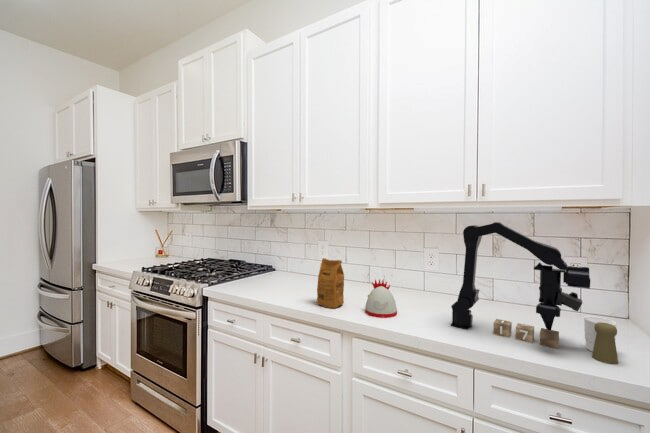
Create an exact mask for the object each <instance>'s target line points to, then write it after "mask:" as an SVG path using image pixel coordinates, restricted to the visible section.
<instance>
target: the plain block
mask: <svg viewBox="0 0 650 433" xmlns="http://www.w3.org/2000/svg"><path fill="white" fill-rule="evenodd" d="M559 341H560V331H558V330H553V329H551V330H547V328H544V327H541V328H540V330H539V346H543V347H547V348H551V349H556V350H559V345H560V342H559Z"/></svg>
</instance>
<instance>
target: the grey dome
mask: <svg viewBox="0 0 650 433" xmlns="http://www.w3.org/2000/svg"><path fill="white" fill-rule="evenodd" d="M387 284H388V282H387V281H386V282H385V281H384V279H382V281H381V279H380V278H379V280H378V282H377V279H376V278H375V279H374V282H373V281H371V285H372V286H373V289H372V290H371V292H370V293H369V294H368V295H367V299H366V302H365V309H364V313H365V315H367V316H370V317H373V318H377V319H379V318H380V319H387V318H388V319H389V318H394V317H396V316H397V314H398V309H397V303H396V300H395V297H394V295H393V293H392V292H391V290H390V287H391V284H389V285H388V286H387Z"/></svg>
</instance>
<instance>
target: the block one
mask: <svg viewBox="0 0 650 433" xmlns="http://www.w3.org/2000/svg"><path fill="white" fill-rule="evenodd" d="M512 322H513V321H511V320H503V319H499V318H495V320H494V321H493V335H495V336H499V337H505V338H508V339H509V338H510V337H511V336H512V328H513V327H512V324H513V323H512Z"/></svg>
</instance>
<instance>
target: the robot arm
mask: <svg viewBox="0 0 650 433" xmlns="http://www.w3.org/2000/svg"><path fill="white" fill-rule="evenodd" d="M462 231H463V232H462V234H463V236H462V237H463V242H464V246H465V253H464V254H465V255H464V267H463V278H462V284H461V288H460V290H459V293H458V296H457V300H456V301H455V302H454V303H453V304H452V305H451V310H452V312H451V314H452V316H451V319H452V320H451V323H450V326H452V327H456V328H459V329H460V328H461V329H464V330H465V329H466V330H469V329H470V328H471V327H472V326H473V319H474V318H473V317H474V315H473V314H472V310H471V308H473V307H474V306H475V304H476V303H477V302H478V301H479V300H480V297H479V293H480V289H478V288H477V289H476V269H477V259H478V249H479V246H480V244H481V242H482V238H483V236H486V235H491V234H497V235H499V236H501V237H502V238H505V239H507V240H509V241H510V242H512V243H514V244H516V245H517V246H519V247H521V248H523V249H525V250H526V251H529V252H530V253H531V254H532V255H533V256H535V257H536V259H538V260H540V261H541V262H538V263H537V264H536V265H534V266H533V270H535V271H539V287H538V290H539V298H538V303H537V304H536V307H535V313H536V314H539V315H540V317H541V319H542V321H543V324H544V326H545V329H547V330H552V328H553V324H554V321H555V317H557V318H560V317H561V311H562V308H560V307H561V306H562V305H563V306H566V307H567V308H570V309H572V310H573V311H575V312H579V310H580V308H581V307H582V305H583V300H582V299H581V298H579V297H578V293H576V292H573V291H572V292H570V293H567V292H563V288H562V287H561V285H562V284H561V283H562V281H563V283H564V284H565V285H567V287H573V288H579V289H580V288H581V289H587V290H588V289H591V278H590V268H589V267H587V266H574V265H573V266H572V265H571V266H570V265H568V264H567V262H565V260H564V259H563V258H562V254H561V253H562V252H561V251H560V249H558V248H557V247H554V246H552V245H549V244H547V243H543V242H539V241H536V240H534V239H531V238H529V237H527V236H526V235H524V234H522V233H520V232H518V231H516V230H514V229H512V228H510V227H509V226H507V225H505V224H503V223H502V222H500V221H496V222H495V221H494V222H493V223H490V224H489V223H488V224H484V225H480V226H479V225H476V224H475V225H469V226H465V227H464V229H463V230H462ZM542 263H543V264H542ZM553 267H556V268H553ZM562 273H563V274H562ZM562 276H563V278H562ZM562 279H563V280H562ZM561 280H562V281H561ZM559 306H560V307H559Z"/></svg>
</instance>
